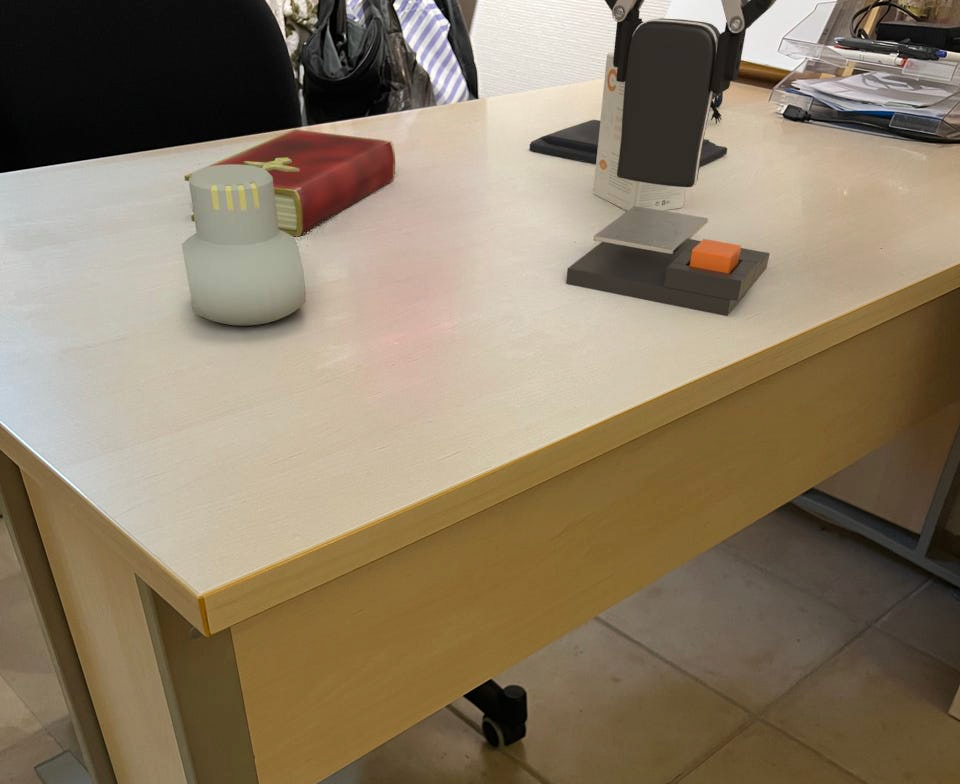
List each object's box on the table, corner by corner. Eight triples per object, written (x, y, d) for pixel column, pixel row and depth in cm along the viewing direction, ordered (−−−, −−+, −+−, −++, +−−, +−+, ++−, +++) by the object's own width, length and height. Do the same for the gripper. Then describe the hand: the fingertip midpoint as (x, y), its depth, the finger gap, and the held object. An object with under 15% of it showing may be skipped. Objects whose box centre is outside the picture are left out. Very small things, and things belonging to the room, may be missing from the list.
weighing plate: (707, 222, 84) (708, 218, 84) (672, 254, 77) (673, 249, 77) (633, 210, 86) (634, 205, 86) (593, 240, 80) (593, 235, 79)
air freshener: (312, 335, 70) (299, 192, 64) (199, 345, 68) (174, 199, 62) (292, 284, 78) (279, 152, 72) (190, 292, 76) (166, 157, 70)
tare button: (738, 264, 77) (741, 245, 76) (727, 276, 75) (731, 256, 74) (700, 257, 78) (703, 238, 77) (688, 269, 76) (691, 249, 75)
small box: (684, 209, 97) (707, 63, 89) (632, 215, 95) (651, 67, 87) (640, 188, 103) (658, 49, 94) (591, 194, 101) (604, 52, 92)
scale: (772, 270, 84) (780, 235, 82) (733, 318, 75) (741, 280, 73) (619, 242, 89) (623, 208, 87) (565, 285, 80) (568, 248, 78)
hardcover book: (396, 181, 103) (394, 138, 100) (302, 237, 88) (297, 188, 85) (298, 168, 106) (294, 126, 103) (191, 220, 91) (183, 172, 88)
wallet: (525, 132, 113) (592, 112, 123) (524, 149, 114) (590, 128, 124) (673, 162, 104) (733, 138, 114) (670, 180, 106) (729, 155, 115)
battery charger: (705, 180, 80) (731, 20, 72) (693, 191, 77) (720, 26, 69) (626, 169, 82) (643, 12, 74) (612, 180, 79) (629, 18, 72)
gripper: (856, -214, 63) (792, 90, 74) (612, -216, 69) (588, 66, 80) (835, -220, 58) (769, 107, 69) (573, -222, 63) (553, 80, 75)
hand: (672, 83), depth 75 cm, fingers closed on battery charger, 7 cm apart
